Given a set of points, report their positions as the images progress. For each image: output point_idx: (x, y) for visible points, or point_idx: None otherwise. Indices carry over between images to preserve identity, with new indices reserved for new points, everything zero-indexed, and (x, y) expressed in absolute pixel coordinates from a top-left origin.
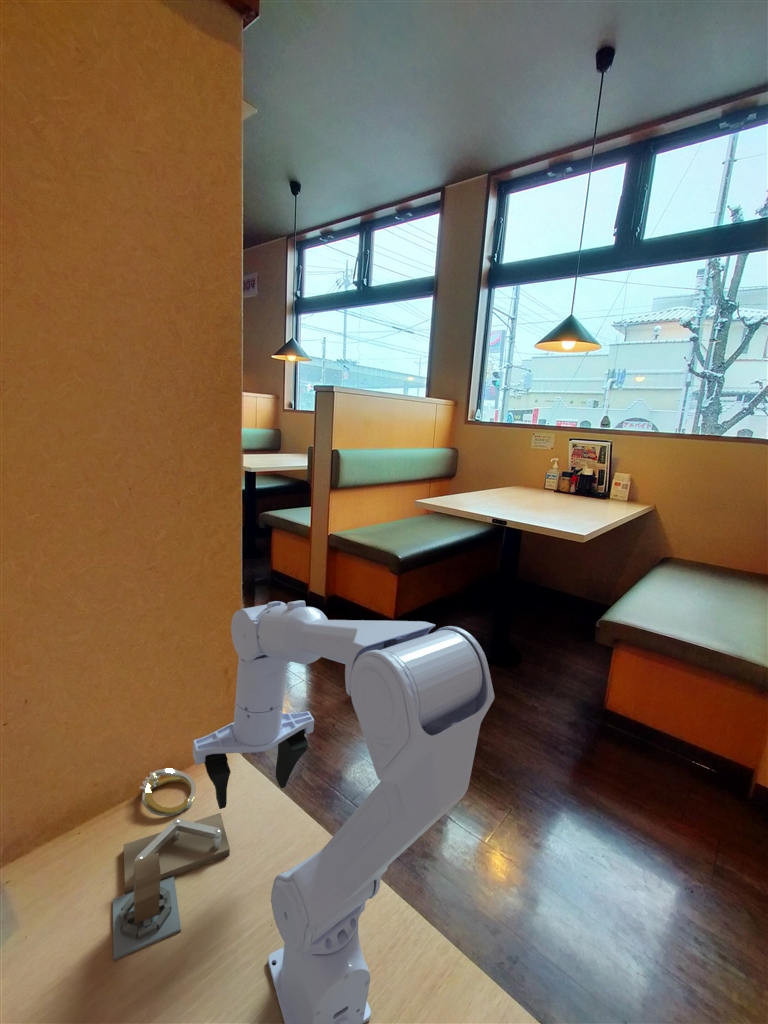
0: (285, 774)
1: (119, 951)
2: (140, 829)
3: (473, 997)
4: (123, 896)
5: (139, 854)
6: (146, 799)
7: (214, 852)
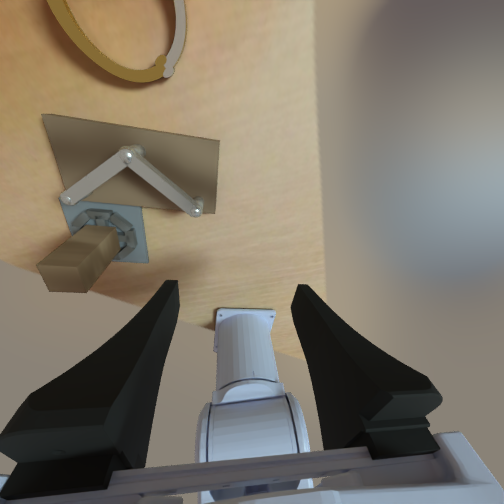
0: (303, 347)
1: None
2: (73, 75)
3: None
4: None
5: (64, 193)
6: (52, 9)
7: None
